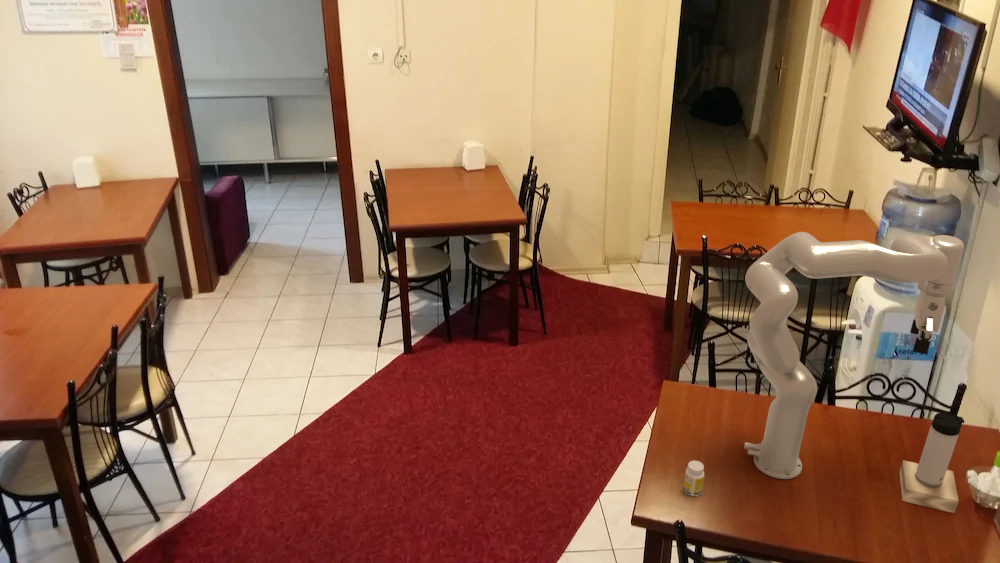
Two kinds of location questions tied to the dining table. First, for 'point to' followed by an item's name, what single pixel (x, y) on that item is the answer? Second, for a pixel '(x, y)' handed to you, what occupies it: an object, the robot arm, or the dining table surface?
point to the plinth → (928, 489)
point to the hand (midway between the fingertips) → (918, 343)
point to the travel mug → (938, 449)
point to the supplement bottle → (694, 478)
